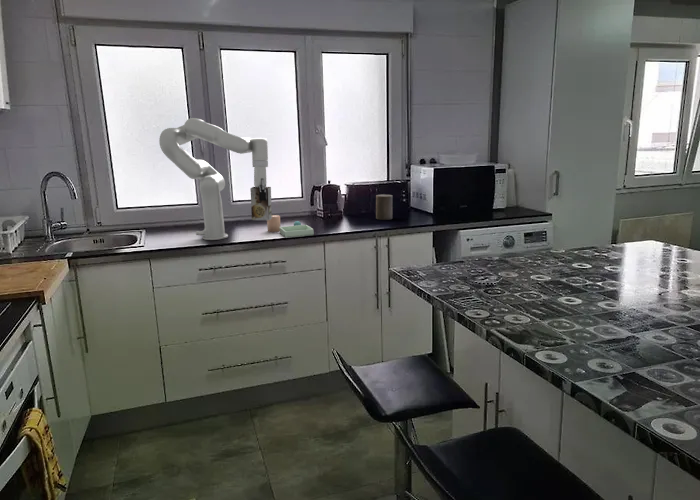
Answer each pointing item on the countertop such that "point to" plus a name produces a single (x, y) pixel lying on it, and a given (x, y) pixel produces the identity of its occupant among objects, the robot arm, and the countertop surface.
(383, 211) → the pillar candle
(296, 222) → the ball
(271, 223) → the light brown rounded block
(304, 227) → the tray
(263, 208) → the coffee box
